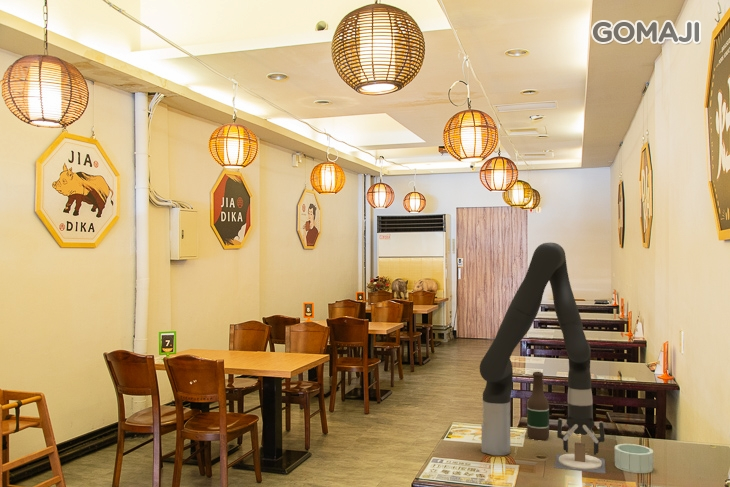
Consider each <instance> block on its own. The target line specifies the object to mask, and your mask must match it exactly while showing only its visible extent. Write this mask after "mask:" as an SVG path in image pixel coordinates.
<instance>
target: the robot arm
mask: <svg viewBox="0 0 730 487" xmlns="http://www.w3.org/2000/svg"><path fill="white" fill-rule="evenodd" d="M548 283H549V284H550V288H551V293H552V300H553V307H554V312H555V314H556V319H557V322H558V325H559V328H560V330H561V333H562V338H563V342H564V347H565V349H566V353H567V356H568V373H567V388H568V389H567V418H566V419H564V418H561V417H558V419H557V432H556V433H557V434H556V437H557V438H558V439H561V440H562V443H563V444H562V445H563V446H562V447H563V451H565V453H569V438H570V437H571V436H572V435H573V434H575V435H582V436H586V435H588V436H589V437H590V439H591V440H592V441H593V455H594V456H597V454H599V450H600V449H599V443H604V442H605V429H604V428H605V427H604V421H602V420H600V421H595V420H594V417H593V416H594V414H593V413H594V412H593V410H594V408H593V406H594V405H593V402H594V400H593V393H592V375H591V352H592V350H591V345H590V343H589V342H588V340H587V337H586V335H585V331H584V328H583V327H584V326H583V321H582V318H581V315H580V311H579V308H578V305H577V302H576V299H575V297H574V293H573V290H572V286H571V281H570V278H569V273H568V265H567V257H566V252H565V249H564V248H563V247H562V246H561V245H560V244H559V243H556V242H544V243H542V244H540V245H538V246H537V247H536V248H535V250H534V251H533V254H532V257H531V259H530V263H529V266H528V268H527V271H526V274H525V276H524V278H523V280H522V282H521V283H520V285H519V287H518V288H517V290H516V292H515V294H514V296H513V298H512V300H511V301H510V304H509V306H508V308H507V310H506V313H505V314H504V317H503V319H502V321H501V323H500V326H499V328H498V330H497V333H496V336H495V337H494V339H493V342H492V343H491V345H490V347H488V349H487V351H486V353H485V355H484V356H483V357H482V359H481V360H480V363H479V373H480V376H481V378H482V379H483V380H484V381H486V384H485V388H484V390H483V391H482V423H481V453H484V454H488V455H491V456H506V455H507V456H508V455H510V453H511V396H512V392H513V371H514V370H513V369H514V368H513V364H512V361H511V359H510V358H511V357H512V354H513V352H514V351H515V349H516V347H517V346H518V345H519V343H521V341H522V340H523V339H524V338H525V336H526V335H527V334H528V332H529V330H530V329H531V327H532V326H533V323H534V322H535V319H536V317H537V316H538V313H539V311H540V307H541V305H542V301H543V295H544V293H545V290H546V286H547V284H548ZM565 425H567V426H568V430H567V431H566V432H565V434H564V433H562V432H563V431H562V430H563V427H564V426H565ZM594 427H596V428H597V430H599V436H597V435H596V434H595V432H594V431H593V428H594Z"/></svg>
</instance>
